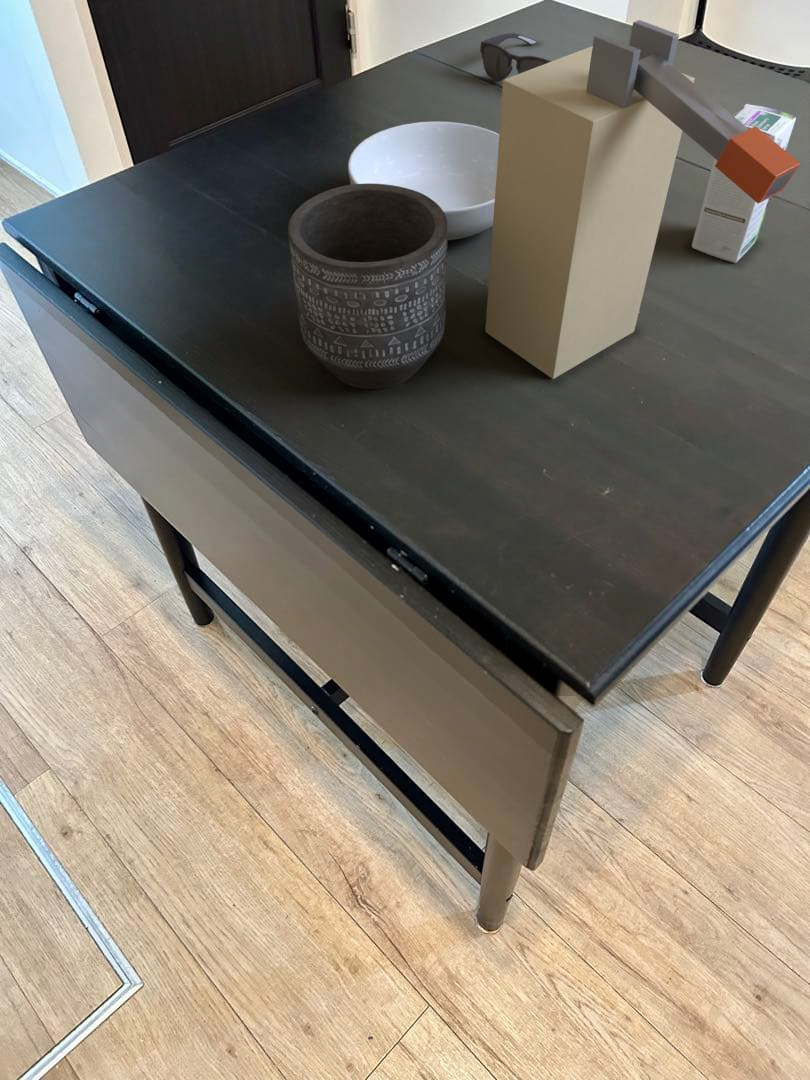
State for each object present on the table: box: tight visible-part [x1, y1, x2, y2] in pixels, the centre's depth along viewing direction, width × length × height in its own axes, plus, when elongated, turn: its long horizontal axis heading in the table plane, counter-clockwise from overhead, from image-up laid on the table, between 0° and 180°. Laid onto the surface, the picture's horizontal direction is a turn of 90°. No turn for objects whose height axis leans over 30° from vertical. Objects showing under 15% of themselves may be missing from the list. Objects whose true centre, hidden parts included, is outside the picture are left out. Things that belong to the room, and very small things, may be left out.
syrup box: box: [691, 103, 797, 264], centre depth 91 cm, size 6×6×14 cm
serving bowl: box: [347, 121, 499, 241], centre depth 99 cm, size 21×21×7 cm
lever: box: [634, 53, 801, 204], centre depth 62 cm, size 14×3×2 cm, turn 39°
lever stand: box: [484, 19, 695, 380], centre depth 76 cm, size 10×12×29 cm
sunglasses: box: [479, 32, 553, 83], centre depth 127 cm, size 16×17×5 cm
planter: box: [287, 184, 448, 390], centre depth 79 cm, size 14×14×15 cm
